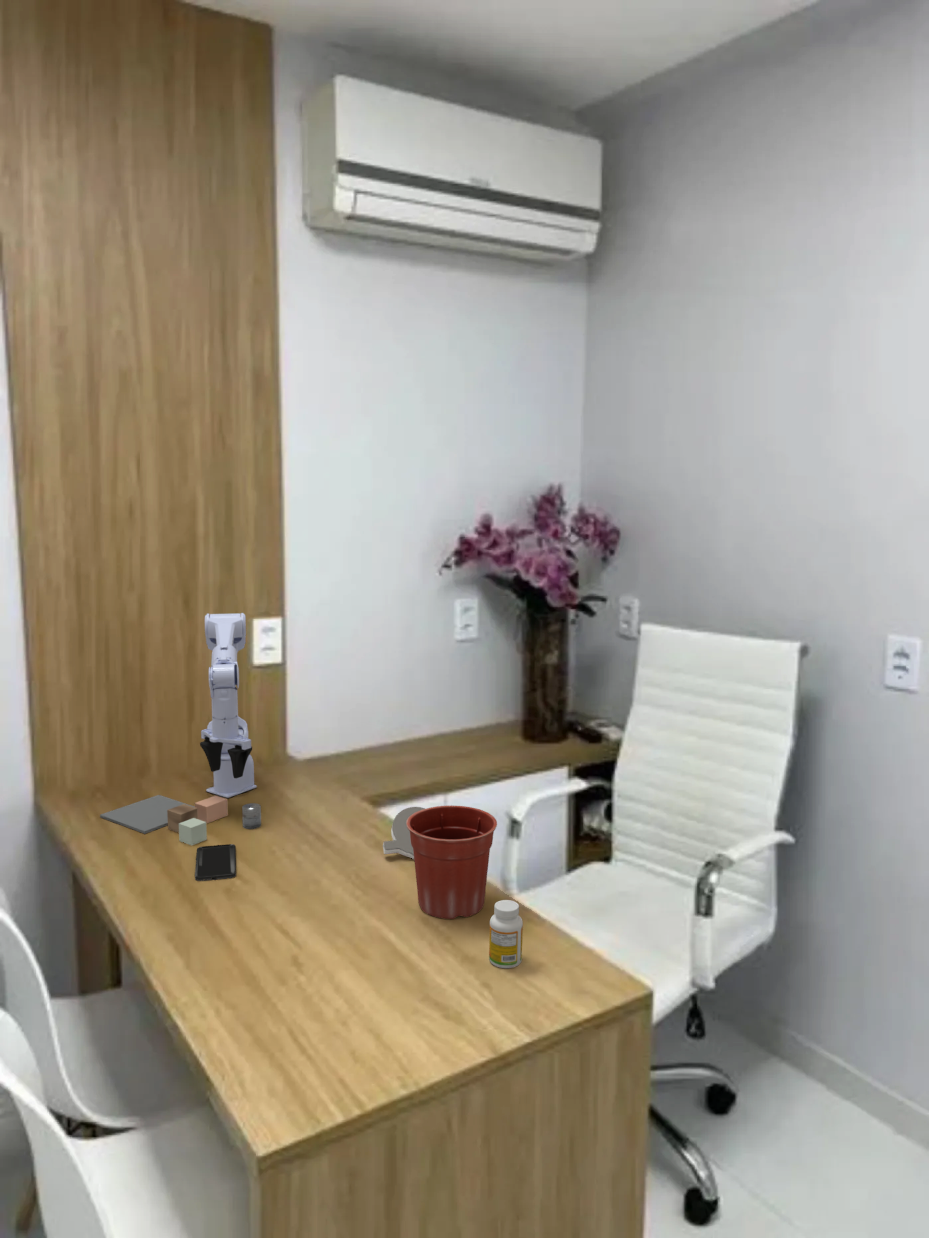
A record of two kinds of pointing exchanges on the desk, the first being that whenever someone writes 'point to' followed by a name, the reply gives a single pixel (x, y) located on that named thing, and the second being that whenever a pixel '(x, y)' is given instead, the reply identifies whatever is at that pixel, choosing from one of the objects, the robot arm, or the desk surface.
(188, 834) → the square sage brick
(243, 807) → the metal cylinder
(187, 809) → the walnut cube
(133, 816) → the desk mat
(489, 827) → the flower pot
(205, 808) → the terracotta brick
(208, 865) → the phone
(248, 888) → the desk surface
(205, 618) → the robot arm
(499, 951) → the supplement bottle
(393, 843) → the grey disc with foot
